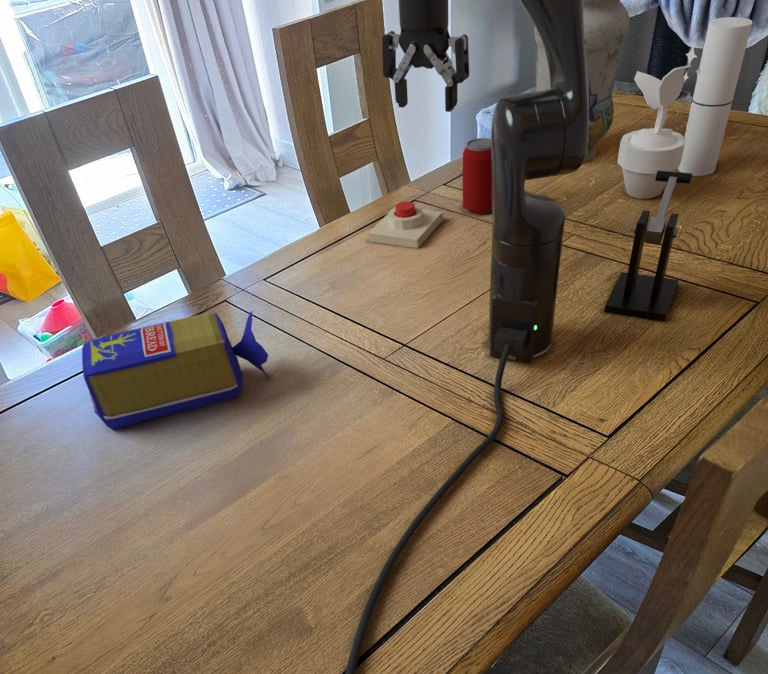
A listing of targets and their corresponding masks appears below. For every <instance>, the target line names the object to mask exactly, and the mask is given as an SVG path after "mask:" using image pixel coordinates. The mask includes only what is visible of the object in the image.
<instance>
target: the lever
mask: <svg viewBox="0 0 768 674" xmlns="http://www.w3.org/2000/svg"><path fill="white" fill-rule="evenodd" d="M692 178H693V176H692V173H681V172H680V171H673V172H670V171H657V174H656V179H655V181H662V182H667V183H666V185H665V189H664V190H663V191H664V192H663V194H662V197H661V200H660V203H659V206H658V208H657V212H656V215H655V216H650V217H649V220H648V225H647V230H646V235H645V240H644V244H651V245H657V246H658V245H661V244H662V241H663V238H664V233H665V229H666V225H667V217H666V214H667V212H668V208H669V206H670V202H671V200H672V197H673V194H674V190H675V187H676V185H677V184H685V185H690V184H691V182H692Z"/></svg>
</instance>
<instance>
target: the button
mask: <svg viewBox="0 0 768 674" xmlns="http://www.w3.org/2000/svg"><path fill="white" fill-rule="evenodd" d="M415 206H416V204H415V203H414V202H412V201H400V202H398V203H397V204H395V206H394V207H396V216H397V217H401V218H406V217H411V216H414V215H415Z"/></svg>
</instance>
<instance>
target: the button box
mask: <svg viewBox="0 0 768 674" xmlns="http://www.w3.org/2000/svg"><path fill="white" fill-rule="evenodd" d="M443 217H444V216H443V211H437V210H430V209H423V208H421V207H419V206H416V205H415V215H414V216H411V217H406V218H401V217H397V216H396V207H395V206H394V207H393V208H391V209H390V210H389V211H388V212H387V214H386V215H385V216H384V217H383V218H382V219H381V220H379V222H378V223H377V224H376V225H374V227H373V228H372V229H370V231H369V232H368V241H369V242H370V243H376V244H377V243H379V244H384V245H390V246H391V245H392V246H399V247H405V248H406V247H407V248H411V249H412V248H414V249H419V248H420V247H421V246H422V244H423V243H425V241H426V240H427V239H428V238H429V236H431V234H432V233H434V231H435V230H436V229H437V228H438V226H439V225H440V224H441V223H442V222H443V220H444V219H443Z"/></svg>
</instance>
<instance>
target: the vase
mask: <svg viewBox="0 0 768 674" xmlns="http://www.w3.org/2000/svg"><path fill="white" fill-rule="evenodd" d="M629 29H630V15H629V11H628V10H627V8H626V7H625V5H624V4H623V3H622V1H621V0H584V38H585V56H586V72H587V88H588V107H589V138H588V146H587V152H586V155H585V159H584V161H583V163H586V162H588V161H590V160H592V159H594V158H595V157H596V155H597V149H596V147H595V145H596V144H598V143H599V142H600V141H601V140H602V139H603V138H604V137H605V135H607V133H608V132H609V130H610V128H611V126H612V124H613V122H614V115H615V107H614V101H613V92H614V84H615V80H616V79H615V78H616V75H617V74H616V73H617V68H618V65H619V64H618V63H619V57H620V53H621V52H620V51H621V48H622V46H623V45H622V44H623V43H625V40H626V38H627V37H628V36H627V35H628V33H629ZM533 32H534V33H533V34H534V40H535V43H536V48H537V54H536V55H537V56H536V76H535V77H536V78H535V91H534V92H536V91H543V90H550V76H549V69H548V63H547V58H546V54H545V50H544V47H543V44H542V41H541V38H540V36H539V34H538V31H537V29H536V27H535V26H534V31H533Z"/></svg>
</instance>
